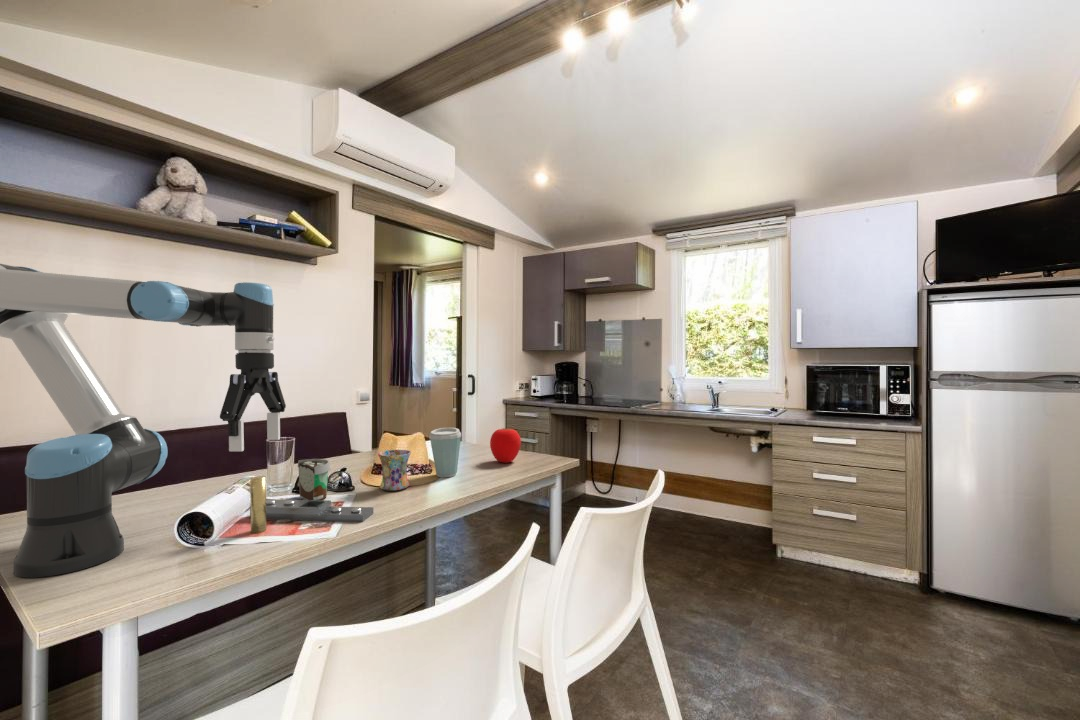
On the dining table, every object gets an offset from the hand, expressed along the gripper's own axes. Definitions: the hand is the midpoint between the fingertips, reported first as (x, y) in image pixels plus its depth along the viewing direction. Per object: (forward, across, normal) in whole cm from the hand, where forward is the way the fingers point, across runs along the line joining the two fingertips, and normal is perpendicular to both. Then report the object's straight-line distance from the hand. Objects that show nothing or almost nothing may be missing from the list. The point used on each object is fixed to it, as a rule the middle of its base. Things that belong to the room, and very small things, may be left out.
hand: (256, 445), depth 108 cm
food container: (+19, +24, -2) cm, 31 cm away
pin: (+19, -1, -1) cm, 19 cm away
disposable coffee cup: (+20, +48, -32) cm, 61 cm away
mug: (+19, +34, -20) cm, 44 cm away
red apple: (+20, +67, -50) cm, 86 cm away
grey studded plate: (+19, +8, -8) cm, 22 cm away
